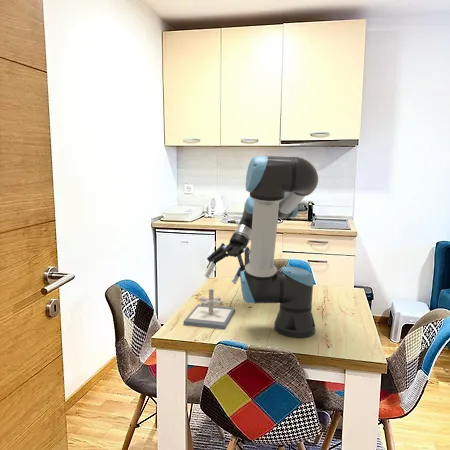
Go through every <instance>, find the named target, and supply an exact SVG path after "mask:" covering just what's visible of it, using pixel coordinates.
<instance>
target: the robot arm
mask: <svg viewBox="0 0 450 450" xmlns="http://www.w3.org/2000/svg"><path fill="white" fill-rule="evenodd" d="M318 184H319V174H318V171H317V170H316V167H315V166H314V165H313V164H312V163H311V162H310V161H308V160H307V159H304V158H303V157H300V156H279V155H277V156H274V155H261V156H258V155H257V156H254V157H252V158H251V159H250V161H249V163H248V166H247V170H246V176H245V190H246V192H248V193H249V196H248V197H247V198H246V200H245V203H244V207H243V213H242V216H241V218H240V221H239V223H238V225H237V226H236V228H235V230H234V232H233V233H232V235H231V237H230V238H229V243H228V244H227V245H226V244H225V243H224V242H222V243H221V244H220V245H219V247H217V249H215V251H213V252H212V253H211V254H210V255H208V256H207V258H206V260H207V261H208V262H209V263H208V264H207V265H206V270H205V272H204V276H205V277H206V279H209V278H210V276H211V275H212V272H213V271H214V269H215V267H216V264H217V263H218V262H221V260H223V259H225V258H228V257H234V258H237V261H238V263H239V266H237V268H236V270H235V272H234V274H233V276H232V278H231V282H232V283H233V285H237V282H238V280H240V287H241V288H240V289H241V294H242V299H243V302H244V303H246V304H255V305H257V304H279V310H278V311H277V314H276V317H275V320H274V324H273V329H274V331H275V332H276V333H278V334H280V335H283V336H285V337H289V338H290V337H291V338H297V339H298V338H299V337H301V338H308V337H312V336H313V335H314V334H315V333H316V323H315V319H314V316H313V313H312V312H313V311H312V308H313V307H312V306H313V292H314V289H313V288H314V276H313V274H312V273H311V271H309V270H307V269H304V268H302V267H295V266H288V265H287V266H282V267H281V268H280V271H278V268H277V267H276V266H275V265H274V261H275V251H276V241H277V239H276V238H277V229H278V222H279V221H278V219H295V218H296V217H297V216H298V213H299V205H300V203H301V202H302V201H303V199H305V197H307V196H310V195H311V194H312V193H313V192H314V191H315V190H316V188H317V186H318ZM249 242H250V243H249ZM248 244H250V248H249V246H248ZM242 254H244V260H243V257H242ZM239 278H240V279H239Z"/></svg>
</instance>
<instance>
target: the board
mask: <svg viewBox="0 0 450 450" xmlns="http://www.w3.org/2000/svg"><path fill="white" fill-rule="evenodd" d="M235 313H236V307H231V306H218V305H213V314H212V315H210V314H209V305H207V306H205V307H202V305H201V303H200V304H197V305H196V306H195V307H194V308H193V309H192V311H191V312H190V313H189V314H188V315H187V316H186V318H185V319H184V320H183V326H188V327H197V328H198V327H200V328H207V329H215V330H217V329H218V330H226V328H227V327H228V325H229V323H230V321H231V320H232V317H233V316H234V314H235Z"/></svg>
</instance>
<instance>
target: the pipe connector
mask: <svg viewBox="0 0 450 450" xmlns="http://www.w3.org/2000/svg"><path fill="white" fill-rule="evenodd" d="M214 290H215V289H214V288H209V289H208V297H204V296H201V297H200V298H199V301H200V302H201V303H200V305H202V307H205V306H207V305H209V314H210V315H212V314H213V306H220V307H223V301H221V300H222V298H221V297H220V296H217V297H216V296H215V295H214ZM214 296H215V297H214Z"/></svg>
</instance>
